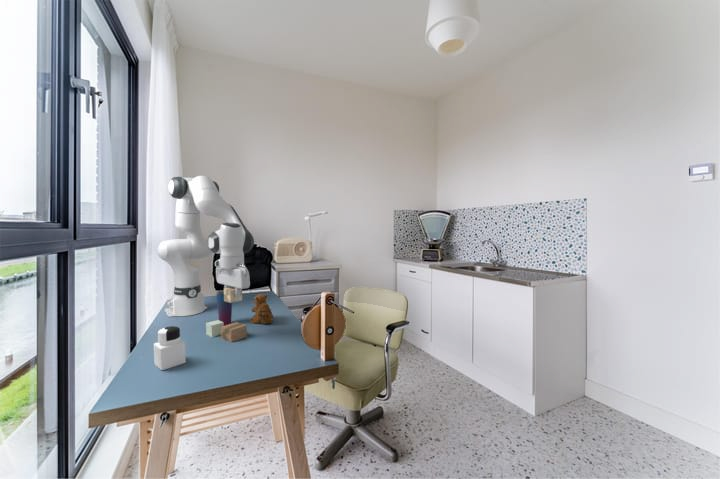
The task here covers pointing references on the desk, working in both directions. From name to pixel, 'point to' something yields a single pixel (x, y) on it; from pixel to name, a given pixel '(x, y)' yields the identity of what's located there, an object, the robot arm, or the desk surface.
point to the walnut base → (233, 332)
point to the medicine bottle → (169, 348)
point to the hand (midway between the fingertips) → (233, 296)
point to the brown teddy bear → (261, 310)
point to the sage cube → (214, 328)
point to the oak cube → (231, 295)
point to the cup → (224, 309)
